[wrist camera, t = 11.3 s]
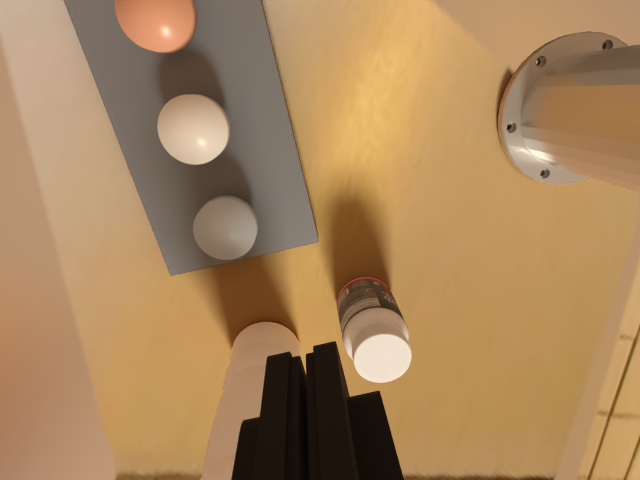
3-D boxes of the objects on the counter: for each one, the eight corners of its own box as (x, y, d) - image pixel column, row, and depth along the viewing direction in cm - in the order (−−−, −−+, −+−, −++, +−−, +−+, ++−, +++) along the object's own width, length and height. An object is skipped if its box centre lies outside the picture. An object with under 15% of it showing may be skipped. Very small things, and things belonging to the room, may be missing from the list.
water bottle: (268, 305, 42) (229, 582, 18) (314, 349, 44) (333, 649, 20) (218, 346, 43) (122, 654, 19) (266, 387, 45) (230, 710, 21)
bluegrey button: (248, 189, 34) (246, 194, 32) (265, 244, 35) (263, 252, 34) (189, 202, 34) (184, 208, 32) (208, 257, 36) (204, 265, 34)
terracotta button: (184, -34, 28) (176, -42, 27) (206, 44, 30) (201, 41, 28) (114, -17, 28) (102, -24, 27) (140, 60, 30) (131, 58, 28)
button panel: (247, -57, 31) (242, -74, 28) (318, 234, 39) (319, 247, 36) (70, -12, 32) (46, -24, 29) (176, 267, 40) (166, 282, 37)
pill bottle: (400, 311, 43) (428, 373, 33) (349, 333, 43) (364, 399, 34) (379, 265, 41) (403, 317, 31) (327, 288, 41) (335, 346, 32)
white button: (219, 87, 31) (214, 87, 29) (238, 152, 33) (235, 156, 31) (155, 102, 31) (147, 103, 30) (177, 167, 33) (171, 171, 31)
